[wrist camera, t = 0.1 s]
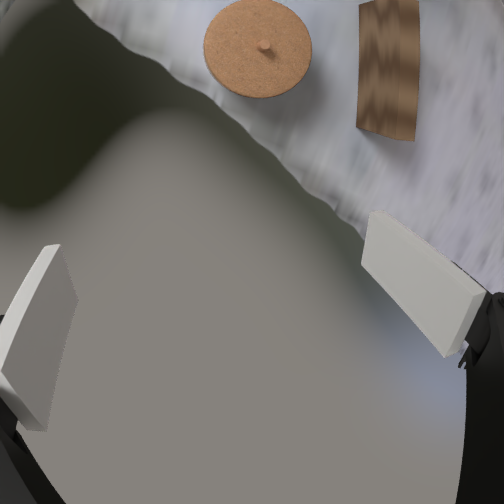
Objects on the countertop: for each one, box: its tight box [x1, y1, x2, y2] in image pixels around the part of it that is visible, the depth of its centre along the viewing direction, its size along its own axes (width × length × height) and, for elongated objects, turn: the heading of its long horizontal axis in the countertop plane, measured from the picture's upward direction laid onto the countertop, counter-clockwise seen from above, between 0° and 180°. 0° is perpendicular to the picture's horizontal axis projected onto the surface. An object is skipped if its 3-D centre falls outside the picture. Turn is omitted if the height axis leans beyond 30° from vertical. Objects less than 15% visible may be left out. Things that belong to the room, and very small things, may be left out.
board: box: [356, 0, 420, 141], centre depth 32 cm, size 18×3×9 cm, turn 0°
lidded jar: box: [203, 0, 312, 98], centre depth 29 cm, size 11×11×9 cm
